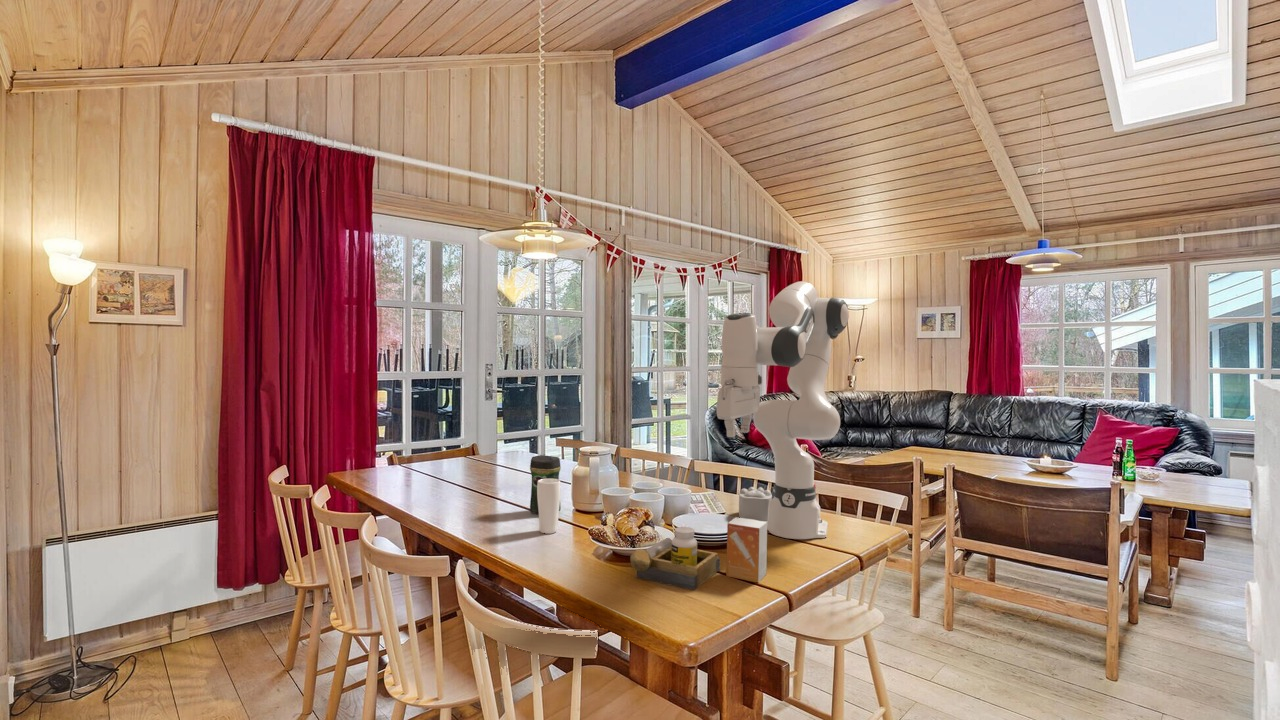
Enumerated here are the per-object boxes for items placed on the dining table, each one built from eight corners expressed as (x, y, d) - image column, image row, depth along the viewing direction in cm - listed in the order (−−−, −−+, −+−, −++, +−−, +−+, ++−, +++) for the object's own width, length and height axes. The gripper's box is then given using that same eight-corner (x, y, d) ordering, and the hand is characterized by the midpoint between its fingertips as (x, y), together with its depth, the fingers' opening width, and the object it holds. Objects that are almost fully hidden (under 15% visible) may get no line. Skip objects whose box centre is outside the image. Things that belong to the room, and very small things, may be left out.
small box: (725, 577, 148) (726, 522, 147) (735, 568, 153) (735, 516, 153) (758, 583, 144) (759, 527, 143) (767, 574, 149) (767, 521, 149)
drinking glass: (562, 528, 185) (562, 478, 185) (557, 535, 178) (557, 483, 178) (540, 527, 186) (540, 477, 185) (534, 534, 179) (534, 482, 178)
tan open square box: (662, 557, 160) (662, 531, 160) (719, 569, 152) (720, 541, 152) (630, 578, 146) (630, 548, 146) (691, 592, 138) (692, 561, 138)
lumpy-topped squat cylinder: (737, 519, 196) (738, 492, 196) (740, 509, 209) (740, 483, 209) (771, 522, 194) (771, 494, 194) (772, 511, 207) (772, 485, 206)
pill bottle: (666, 576, 148) (666, 530, 147) (678, 568, 153) (679, 524, 153) (689, 582, 144) (689, 534, 144) (701, 573, 149) (701, 528, 149)
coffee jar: (564, 511, 204) (564, 455, 204) (550, 517, 197) (551, 459, 197) (540, 507, 208) (540, 452, 208) (525, 513, 201) (526, 456, 201)
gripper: (735, 381, 142) (734, 441, 142) (764, 377, 160) (763, 430, 160) (710, 380, 145) (709, 438, 146) (741, 376, 163) (740, 429, 163)
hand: (738, 434), depth 153 cm, fingers open, 8 cm apart
